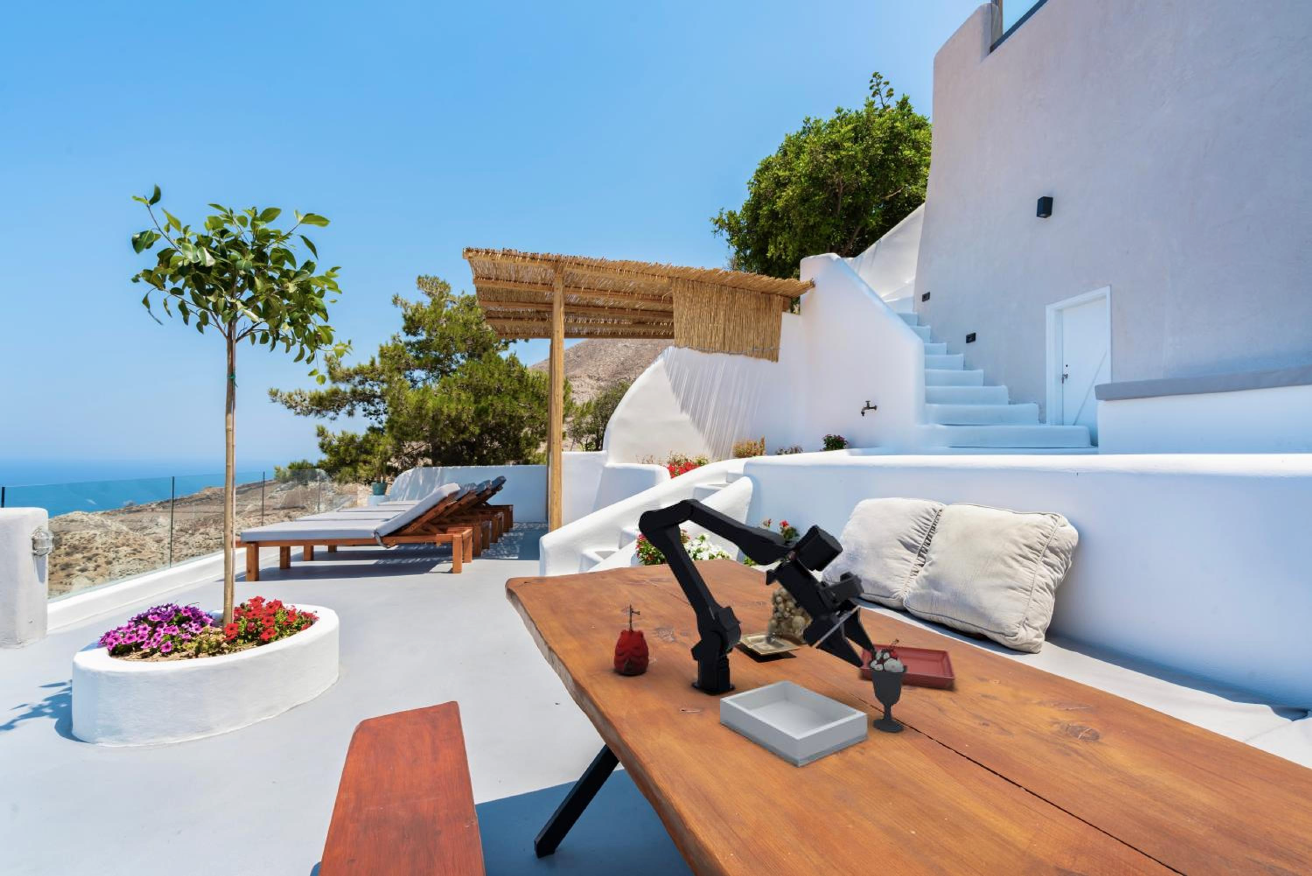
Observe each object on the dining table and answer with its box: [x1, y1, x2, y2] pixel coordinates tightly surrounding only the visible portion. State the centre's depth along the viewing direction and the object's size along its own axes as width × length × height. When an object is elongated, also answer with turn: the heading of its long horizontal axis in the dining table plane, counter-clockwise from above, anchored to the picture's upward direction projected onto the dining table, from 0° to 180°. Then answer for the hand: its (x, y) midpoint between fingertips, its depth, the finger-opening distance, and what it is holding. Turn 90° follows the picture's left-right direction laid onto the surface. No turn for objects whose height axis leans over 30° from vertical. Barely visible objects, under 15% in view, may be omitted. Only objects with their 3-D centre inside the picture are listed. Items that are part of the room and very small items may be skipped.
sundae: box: [866, 638, 908, 733], centre depth 100 cm, size 7×7×15 cm
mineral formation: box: [766, 585, 812, 644], centre depth 150 cm, size 8×13×15 cm, turn 42°
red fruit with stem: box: [613, 604, 650, 676], centre depth 127 cm, size 8×7×15 cm
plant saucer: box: [859, 642, 956, 689], centre depth 126 cm, size 18×18×3 cm
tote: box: [719, 679, 868, 768], centre depth 99 cm, size 18×16×4 cm
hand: (867, 658), depth 102 cm, fingers open, 9 cm apart
